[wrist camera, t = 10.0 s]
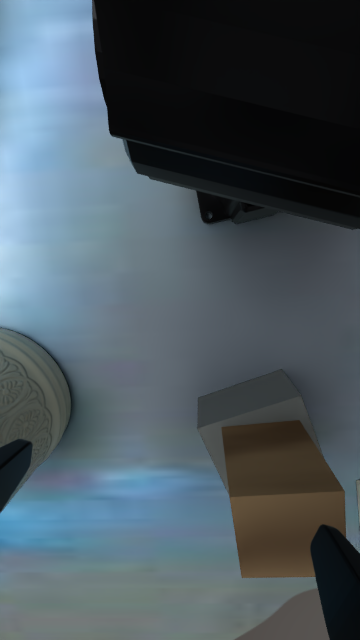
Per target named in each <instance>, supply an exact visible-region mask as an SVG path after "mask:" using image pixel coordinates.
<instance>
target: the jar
mask: <svg viewBox="0 0 360 640" xmlns="http://www.w3.org/2000/svg"><path fill="white" fill-rule="evenodd" d="M70 413H71V398H70V392H69V388H68V385H67V382H66V380H65V378H64V375H63V373H62V372H61V370H60V368H59V367H58V365H57V364H56V363H55V361H54V360H53V359H52V358H51V356H50V355H49V354H48V353H47V352H46V351H45V350H44V349H42V348H41V347H40V346H39V345H38V344H36V343H35V342H33V341H32V340H30V339H29V338H27V337H25V336H23V335H21V334H19V333H16V332H14V331H11V330H7V329H3V328H0V447H2V446H4V445H6V444H8V443H10V442H12V441H14V440H16V439H24V440H28V441H31V442H32V444H33V448H32V457H31V464H30V467H29V469H28V471H27V472H26V474H25V476H24V477H23V479H22V480H21V482H20V483H19V485H18V486H17V488H16V489H15V491H14V492H13V494H12V495H11V497H10V499H9V500H8V502H7V503H6V505H5V506H4V508H5V507H6V506H7V504H8V503H9V502H10V501H11V499H12V498H13V497H14V496H15V494H16V493H17V492H18V491H19V489H20V488H21V487H22V486H23V484H24V483H25V482H26V481H27V479H28V478H29V477H30V476H31V474H32V473H33V472H34V471H35V469H36V468H37V467H38V466H39V465H41V464H42V463H43V462H44V461H45V460H46V459H47V458H48V457H49V456H50V454H51V453H52V451H53V450H54V449H55V448H56V446H57V445H58V443H59V441H60V440H61V438H62V435H63V432H64V431H65V429H66V427H67V425H68V422H69V418H70ZM4 508H3V509H4ZM3 509H2V511H3ZM2 511H1V512H2ZM1 512H0V513H1Z"/></svg>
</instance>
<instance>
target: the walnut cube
mask: <svg viewBox="0 0 360 640" xmlns="http://www.w3.org/2000/svg"><path fill="white" fill-rule="evenodd" d="M221 430H222V438H223V446H224V454H225V463H226V471H227V479H228V487H229V496H230V503H231V509H232V516H233V522H234V529H235V536H236V542H237V549H238V556H239V562H240V569H241V576H242V578H267V577H315V572H314V567H313V562H312V558H311V552H310V544H311V541H312V539H313V537H314V535H315V534H316V532H317V530H318V528H319V526H320V525H322V524H325V525H328V526H332V527H335V528H337V529H338V530H339V531H340V532H341V533H342V534H343V535H344V537H345V538H346V522H345V491H344V489H343V488H342V486H341V485H340V483H339V482H338V480H337V478H336V477H335V475H334V474H333V472H332V471H331V469H330V467H329V466H328V464H327V463H326V461H325V459H324V458H323V456H322V455H321V453H320V452H319V450H318V448H317V447H316V445H315V444H314V442H313V441H312V439H311V437H310V436H309V434H308V433H307V431H306V430H305V428H304V426H303V425H302V423H301V422H300V420H294V421H283V422H272V423H260V424H249V425H238V426H226V427H221Z"/></svg>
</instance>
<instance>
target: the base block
mask: <svg viewBox="0 0 360 640" xmlns="http://www.w3.org/2000/svg"><path fill="white" fill-rule="evenodd" d="M294 420H300V422H301V423H302V425H303V426H304V428H305V430H306V431H307V433H308V434H309V436H310V437H311V439H312V441H313V442H314V444H315V445H316V447H317V448H318V450H319V452H320V453H321V455H322V456H323V454H322V451H321V448H320V446H319V443H318V440H317V437H316V435H315V432H314V429H313V426H312V424H311V421H310V418H309V415H308V413H307V410H306V407H305V405H304V402H303V399H302V396H301V395H300V393H299V392H298V391H297V389H296V388H295V386H294V385H293V384H292V382H291V381H290V380H289V378H288V377H287V376H286V374H285V373H284V372H283V370H282V369H281V370H278V371H275V372H272V373H269V374H266V375H264V376H261V377H258V378H255V379H252V380H249V381H246V382H243V383H240V384H237V385H234V386H231V387H228V388H225V389H223V390H220V391H217V392H214V393H211V394H208V395H205V396H202V397H199V398H198V424H197V429H198V431H199V433H200V435H201V437H202V439H203V441H204V443H205V446H206V448H207V450H208V452H209V454H210V456H211V458H212V460H213V462H214V465H215V467H216V469H217V471H218V473H219V475H220V477H221V479H222V481H223V483H224V486H225V488H226V490H227V492H228V494H229V487H228V479H227V471H226V463H225V454H224V446H223V438H222V430H221V427H226V426H238V425H249V424H260V423H272V422H283V421H294ZM323 458H324V457H323Z"/></svg>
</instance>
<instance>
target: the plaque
mask: <svg viewBox="0 0 360 640" xmlns="http://www.w3.org/2000/svg"><path fill="white" fill-rule="evenodd" d="M356 484H357V497H358V511H359V524H360V480H356Z"/></svg>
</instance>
